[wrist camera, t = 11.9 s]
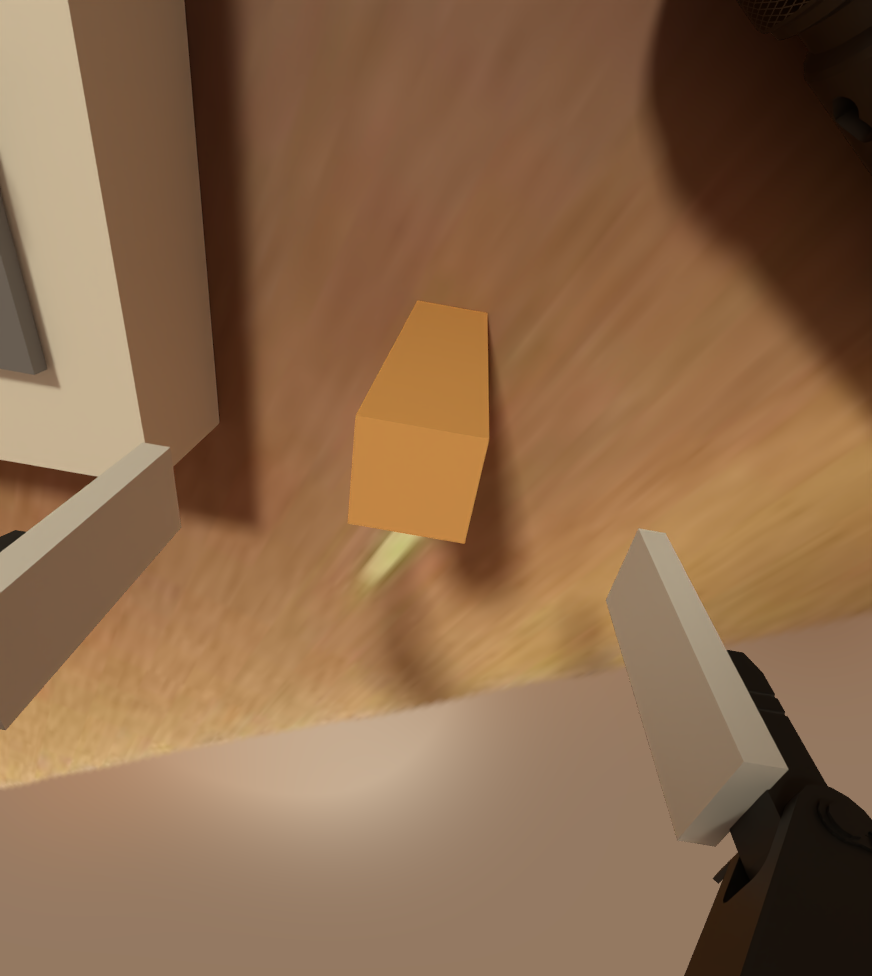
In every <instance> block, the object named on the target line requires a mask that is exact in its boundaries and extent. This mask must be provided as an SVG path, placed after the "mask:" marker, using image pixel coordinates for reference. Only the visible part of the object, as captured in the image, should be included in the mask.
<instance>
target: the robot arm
mask: <svg viewBox="0 0 872 976" xmlns="http://www.w3.org/2000/svg"><path fill="white" fill-rule="evenodd" d="M180 528H181V521H180V514H179V507H178V499H177V492H176V485H175V478H174V470H173V463H172V456H171V448H170V447H166V446H160V445H154V444H148V443H141V444H140V445H139V446H137V447H136V448H135V449H134V450H132V451H131V452H130V453H128V454H127V455H126V456H124V457H123V458H122V459H121V460H119V461H118V462H117V463H115V464H114V465H113V466H111V467H110V468H109V469H108V470H106V471H105V472H104V473H102V474H101V475H100V476H99V477H97V478H96V479H95V480H93V481H92V482H91V483H89V484H88V485H87V486H86V487H84V488H83V489H82V490H80V491H79V492H78V493H77V494H75V495H74V496H73V497H71V498H70V499H69V500H67V501H66V502H65V503H64V504H62V505H61V506H60V507H58V508H57V509H56V510H54V511H53V512H52V513H51V514H49V515H48V516H47V517H45V518H44V519H43V520H42V521H40V522H39V523H38V524H36V525H35V526H34V527H32V528H31V529H30V530H29V531H27V532H23V531H17V530H15V531H12V532H10V533H8V534H6V535H3V536H1V537H0V729H2V730H6V729H7V728H8V727H9V726H10V725H11V724H12V722H13V721H14V720H15V719H16V718H17V717H18V715H19V714H20V713H21V712H22V711H23V710H24V708H25V707H26V706H27V705H28V704H29V703H30V702H31V700H32V699H33V698H34V697H35V696H36V695H37V693H38V692H39V691H40V690H41V689H42V688H43V687H44V685H45V684H46V683H47V682H48V681H49V680H50V678H51V677H52V676H53V675H54V674H55V673H56V672H57V670H58V669H59V668H60V667H61V666H62V665H63V663H64V662H65V661H66V660H67V659H68V658H69V657H70V655H71V654H72V653H73V652H74V651H75V650H76V648H77V647H78V646H79V645H80V644H81V643H82V642H83V640H84V639H85V638H86V637H87V636H88V635H89V633H90V632H91V631H92V630H93V629H94V628H95V627H96V625H97V624H98V623H99V622H100V621H101V620H102V618H103V617H104V616H105V615H106V614H107V613H108V612H109V610H110V609H111V608H112V607H113V606H114V605H115V603H116V602H117V601H118V600H119V599H120V598H121V597H122V595H123V594H124V593H125V592H126V591H127V590H128V588H129V587H130V586H131V585H132V584H133V583H134V582H135V580H136V579H137V578H138V577H139V576H140V575H141V573H142V572H143V571H144V570H145V569H146V568H147V566H148V565H149V564H150V563H151V562H152V561H153V560H154V558H155V557H156V556H157V555H158V554H159V553H160V551H161V550H162V549H163V548H164V547H165V546H166V545H167V543H168V542H169V541H170V540H171V539H172V538H173V536H174V535H175V534H176V533H177V532H178V531H179V530H180ZM606 602H607V605H608V609H609V612H610V616H611V619H612V622H613V626H614V629H615V632H616V636H617V639H618V643H619V646H620V649H621V653H622V656H623V659H624V663H625V666H626V670H627V673H628V676H629V680H630V683H631V686H632V689H633V693H634V696H635V699H636V703H637V707H638V709H639V713H640V716H641V720H642V723H643V727H644V730H645V733H646V737H647V740H648V743H649V747H650V750H651V753H652V757H653V761H654V763H655V767H656V771H657V774H658V777H659V781H660V784H661V787H662V791H663V794H664V798H665V801H666V804H667V808H668V811H669V814H670V818H671V821H672V825H673V828H674V831H675V835H676V838H677V840H679V841H684V842H691V843H697V844H703V845H709V846H717V844H718V843H719V842H720V841H721V840H722V839H723V838H724V837H725V836H726V835H727V834H728V833H729V832H731V835H732V838H733V840H734V843H735V845H736V848H737V850H738V853H737V854H736V855H735V856H734V857H733V858H732V859H731V860H730V861H729V862H728V863H727V864H726V865H725V866H724V867H723V868H722V869H721V870H720V871H719V872H718V873H717V874H716V875H715V877H714V878H713V879H714V880H715V881H716V882H717V883H719V882H721V881H722V880H723V881H722V883H721V886H720V888H719V891H718V893H717V896H716V898H715V901H714V903H713V906H712V908H711V911H710V913H709V916H708V918H707V921H706V923H705V926H704V928H703V931H702V933H701V935H700V938H699V940H698V943H697V945H696V948H695V950H694V953H693V955H692V958H691V960H690V963H689V965H688V968H687V970H686V973H685V975H684V976H872V820H871V818H870V817H869V816H868V815H867V814H866V812H865V811H864V810H863V809H862V808H860V807H859V806H858V805H857V804H856V803H854V802H853V801H852V800H851V799H850V798H849V797H847V796H845V795H843V794H842V793H840V792H838V791H836V790H835V789H832V788H830V787H828V786H827V784H826V783H825V781H824V779H823V778H822V776H821V774H820V772H819V771H818V769H817V767H816V765H815V764H814V762H813V760H812V758H811V757H810V755H809V753H808V751H807V750H806V748H805V746H804V744H803V743H802V741H801V739H800V737H799V736H798V734H797V732H796V730H795V729H794V727H793V725H792V723H791V722H790V720H789V718H788V717H787V716H785V711H784V709H783V708H782V706H781V704H780V702H779V701H778V699H777V698H775V697H774V695H775V694H774V692H773V690H772V688H771V687H770V685H769V683H768V681H767V680H766V678H765V676H764V674H763V673H762V672H761V671H760V670H759V669H758V667H757V666H756V665H755V664H754V663H753V662H752V661H751V660H750V659H749V658H748V657H747V656H746V655H745V654H744V653H742V652H736V651H730V650H726V648H725V646H724V644H723V643H722V641H721V639H720V637H719V635H718V633H717V631H716V629H715V627H714V625H713V623H712V621H711V620H710V618H709V616H708V614H707V612H706V610H705V608H704V606H703V604H702V602H701V600H700V598H699V597H698V595H697V593H696V591H695V589H694V587H693V585H692V583H691V581H690V579H689V577H688V575H687V574H686V572H685V570H684V568H683V566H682V564H681V562H680V560H679V558H678V556H677V554H676V552H675V551H674V549H673V547H672V545H671V543H670V541H669V539H668V537H667V535H666V533H662V532H656V531H650V530H644V529H639V528H638V531H637V533H636V535H635V537H634V539H633V542H632V544H631V546H630V548H629V550H628V553H627V555H626V557H625V559H624V561H623V564H622V566H621V568H620V570H619V572H618V575H617V577H616V579H615V581H614V583H613V586H612V588H611V590H610V592H609V594H608V597H607V599H606Z"/></svg>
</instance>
